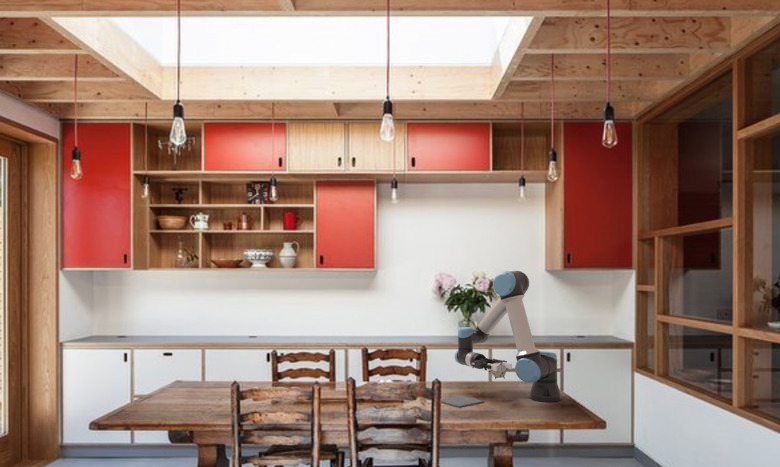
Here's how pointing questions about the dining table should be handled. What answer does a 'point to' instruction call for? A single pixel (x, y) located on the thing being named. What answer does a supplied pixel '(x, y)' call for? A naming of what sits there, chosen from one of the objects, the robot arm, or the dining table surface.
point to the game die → (499, 370)
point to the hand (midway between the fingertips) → (503, 367)
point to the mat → (460, 401)
